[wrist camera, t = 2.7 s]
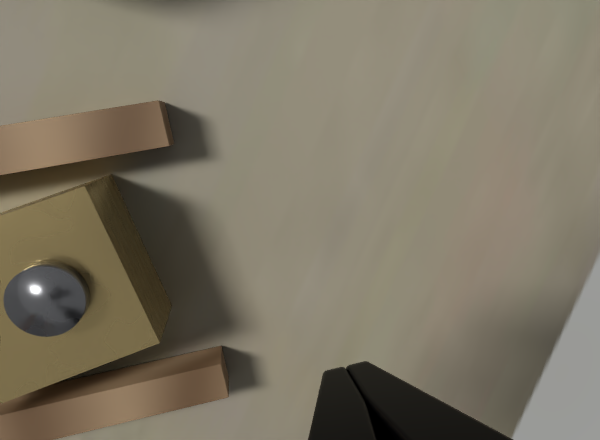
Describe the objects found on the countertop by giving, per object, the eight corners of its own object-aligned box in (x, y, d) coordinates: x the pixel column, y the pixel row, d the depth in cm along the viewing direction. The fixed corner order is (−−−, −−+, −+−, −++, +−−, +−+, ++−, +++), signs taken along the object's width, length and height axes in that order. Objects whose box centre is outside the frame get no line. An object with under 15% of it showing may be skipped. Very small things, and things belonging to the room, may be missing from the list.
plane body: (164, 102, 17) (153, 99, 14) (228, 376, 20) (228, 412, 17) (-242, 167, 15) (-333, 176, 13) (-105, 455, 18) (-156, 507, 16)
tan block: (113, 173, 17) (78, 189, 13) (172, 303, 19) (157, 351, 15) (-88, 243, 17) (-187, 281, 13) (-9, 371, 18) (-76, 440, 14)
